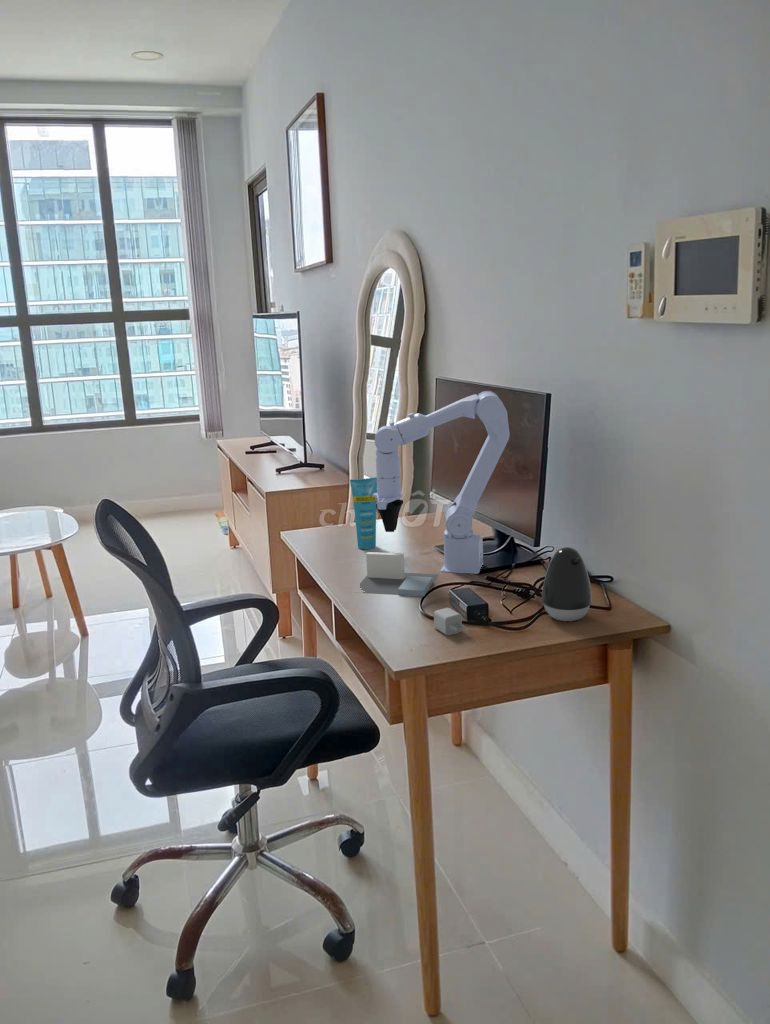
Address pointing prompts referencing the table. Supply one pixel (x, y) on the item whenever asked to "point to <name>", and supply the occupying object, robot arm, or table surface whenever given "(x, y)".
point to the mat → (387, 584)
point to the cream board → (385, 565)
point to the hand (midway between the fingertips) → (390, 530)
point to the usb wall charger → (448, 621)
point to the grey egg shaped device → (567, 586)
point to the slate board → (415, 586)
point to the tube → (365, 511)
